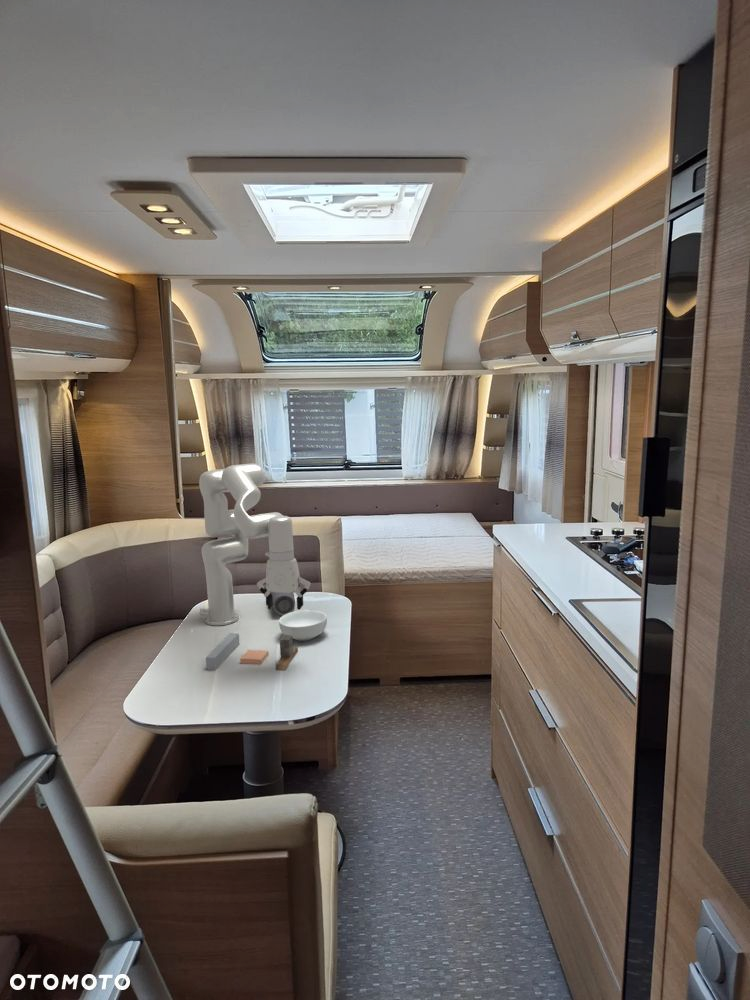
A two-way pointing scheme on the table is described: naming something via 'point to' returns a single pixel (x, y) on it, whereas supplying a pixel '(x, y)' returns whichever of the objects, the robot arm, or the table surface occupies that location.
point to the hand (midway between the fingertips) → (285, 608)
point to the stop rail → (222, 651)
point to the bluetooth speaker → (283, 602)
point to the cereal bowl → (303, 624)
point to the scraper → (286, 652)
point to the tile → (254, 657)
